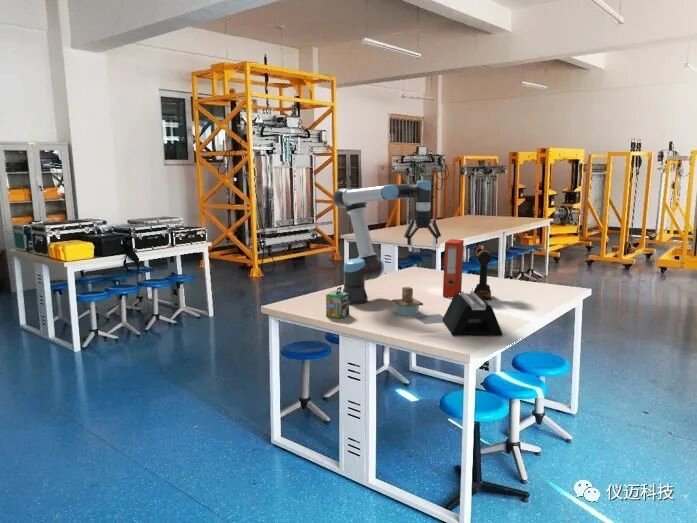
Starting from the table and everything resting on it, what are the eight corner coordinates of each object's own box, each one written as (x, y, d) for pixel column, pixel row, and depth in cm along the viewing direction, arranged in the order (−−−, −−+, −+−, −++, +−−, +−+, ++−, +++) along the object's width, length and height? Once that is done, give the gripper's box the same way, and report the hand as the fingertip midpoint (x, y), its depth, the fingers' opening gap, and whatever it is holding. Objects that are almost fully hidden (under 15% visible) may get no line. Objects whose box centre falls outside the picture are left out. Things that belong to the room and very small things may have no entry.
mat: (425, 325, 268) (425, 324, 268) (412, 317, 282) (412, 316, 282) (453, 322, 273) (453, 321, 273) (439, 315, 287) (439, 314, 287)
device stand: (488, 321, 273) (490, 291, 270) (502, 336, 251) (504, 303, 248) (442, 321, 272) (443, 291, 270) (452, 336, 250) (453, 303, 248)
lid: (400, 306, 281) (401, 291, 280) (391, 301, 293) (392, 286, 291) (422, 305, 285) (423, 289, 284) (413, 300, 296) (413, 285, 295)
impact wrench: (470, 299, 322) (472, 251, 317) (472, 292, 342) (474, 246, 337) (495, 301, 318) (497, 252, 314) (495, 293, 338) (497, 247, 334)
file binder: (461, 292, 341) (463, 239, 336) (456, 298, 325) (458, 243, 320) (448, 291, 344) (450, 239, 339) (442, 297, 328) (444, 242, 323)
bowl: (401, 317, 283) (401, 306, 282) (393, 312, 293) (393, 301, 292) (421, 315, 286) (421, 305, 285) (412, 310, 296) (412, 300, 296)
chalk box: (333, 312, 292) (333, 284, 289) (349, 314, 288) (350, 286, 285) (325, 316, 284) (325, 287, 281) (341, 318, 280) (341, 289, 277)
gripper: (403, 211, 288) (403, 252, 291) (448, 210, 295) (446, 250, 299) (398, 210, 295) (397, 250, 299) (441, 209, 302) (440, 248, 306)
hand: (422, 250), depth 299 cm, fingers open, 13 cm apart
